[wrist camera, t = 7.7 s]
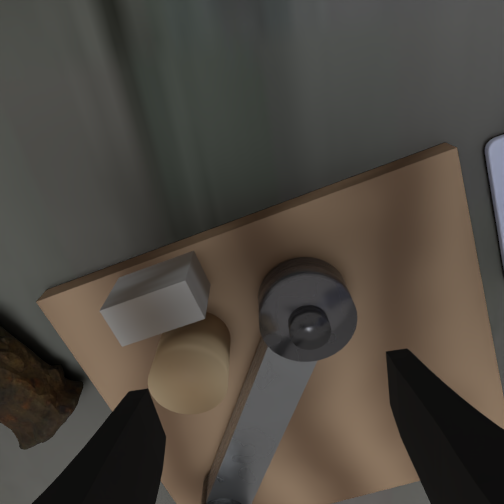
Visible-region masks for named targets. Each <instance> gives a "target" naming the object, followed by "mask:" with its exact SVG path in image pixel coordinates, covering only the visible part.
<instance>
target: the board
mask: <svg viewBox="0 0 504 504" xmlns="http://www.w3.org/2000/svg"><path fill="white" fill-rule="evenodd" d="M298 257H312V258H317V259H320V260H323V261H325V262H327V263H329V264H331V265H332V266H334V267H335V268H336V269H337V270H338V271H339V272H340V274H341V275H342V277H343V278H344V281H345V283H346V285H347V288H348V290H349V292H350V295H351V297H352V299H353V302H354V304H355V307H356V310H357V326H356V329H355V332H354V334H353V336H352V338H351V339H350V341H349V342H348V343H347V344H346V345H345V346H344V347H343V348H342V349H341V350H340V351H339V352H337V353H335V354H334V355H332V356H330V357H328V358H325V359H322V360H318V361H317V363H316V365H315V367H314V369H313V372H312V374H311V376H310V378H309V380H308V382H307V385H306V387H305V389H304V391H303V393H302V395H301V398H300V400H299V402H298V404H297V406H296V408H295V411H294V413H293V415H292V417H291V419H290V421H289V424H288V426H287V428H286V430H285V432H284V434H283V437H282V439H281V441H280V443H279V445H278V447H277V450H276V452H275V454H274V456H273V458H272V460H271V463H270V465H269V467H268V469H267V471H266V473H265V476H264V478H263V480H262V482H261V484H260V486H259V489H258V491H257V493H256V495H255V497H254V499H253V501H252V504H331V503H335V502H339V501H343V500H346V499H350V498H354V497H358V496H362V495H366V494H370V493H374V492H378V491H381V490H385V489H389V488H393V487H397V486H401V485H405V484H409V483H413V482H416V481H420V479H419V477H418V474H417V472H416V470H415V468H414V466H413V463H412V461H411V459H410V457H409V455H408V452H407V450H406V448H405V446H404V444H403V441H402V439H401V437H400V434H399V431H398V428H397V425H396V422H395V419H394V416H393V413H392V409H391V406H390V400H389V387H388V374H387V362H386V351H393V350H399V349H406V348H407V349H409V350H410V351H411V352H412V353H413V354H414V355H415V356H416V357H417V358H418V359H419V360H420V361H421V362H422V363H423V364H425V365H426V366H427V367H428V368H429V369H430V370H431V371H432V372H433V373H434V374H435V375H436V376H437V377H439V378H440V379H441V380H442V381H443V382H444V383H445V384H446V385H448V386H449V387H450V388H451V389H452V390H453V391H455V392H456V393H457V394H458V395H459V396H461V397H462V398H463V399H464V400H465V401H467V402H468V403H469V404H470V405H472V406H473V407H474V408H475V409H477V410H478V411H479V412H481V413H482V414H483V415H485V416H486V417H487V418H489V419H490V420H491V421H493V422H494V423H495V424H497V425H498V426H500V427H501V428H502V429H504V397H503V391H502V386H501V381H500V375H499V370H498V365H497V359H496V354H495V349H494V343H493V338H492V333H491V327H490V322H489V317H488V311H487V306H486V300H485V295H484V290H483V284H482V279H481V274H480V268H479V263H478V258H477V252H476V247H475V242H474V236H473V231H472V226H471V220H470V215H469V210H468V204H467V199H466V193H465V188H464V183H463V177H462V172H461V167H460V161H459V156H458V151H457V147H455V146H452V145H450V144H448V143H442V144H440V145H437V146H434V147H432V148H429V149H426V150H424V151H421V152H418V153H415V154H413V155H410V156H407V157H405V158H402V159H399V160H396V161H394V162H391V163H388V164H386V165H383V166H380V167H378V168H375V169H372V170H369V171H367V172H364V173H361V174H359V175H356V176H353V177H350V178H348V179H345V180H342V181H340V182H337V183H334V184H332V185H329V186H326V187H323V188H321V189H318V190H315V191H313V192H310V193H307V194H305V195H302V196H299V197H296V198H294V199H291V200H288V201H286V202H283V203H280V204H277V205H275V206H272V207H269V208H267V209H264V210H261V211H259V212H256V213H253V214H250V215H248V216H245V217H242V218H240V219H237V220H234V221H232V222H229V223H226V224H223V225H221V226H218V227H215V228H213V229H210V230H207V231H204V232H202V233H199V234H196V235H194V236H191V237H188V238H186V239H183V240H180V241H177V242H175V243H172V244H169V245H167V246H164V247H161V248H159V249H156V250H153V251H150V252H148V253H145V254H142V255H140V256H137V257H134V258H131V259H129V260H126V261H123V262H121V263H118V264H115V265H113V266H110V267H107V268H104V269H102V270H99V271H96V272H94V273H91V274H88V275H86V276H83V277H80V278H77V279H75V280H72V281H69V282H67V283H64V284H61V285H58V286H56V287H53V288H50V289H48V290H46V291H45V292H44V293H43V295H42V296H41V297H40V298H39V299H38V300H37V301H36V302H37V304H38V305H39V307H40V308H41V309H42V311H43V312H44V314H45V315H46V317H47V318H48V319H49V321H50V322H51V324H52V325H53V327H54V328H55V330H56V331H57V332H58V334H59V335H60V337H61V338H62V340H63V341H64V342H65V344H66V345H67V347H68V348H69V350H70V351H71V353H72V354H73V355H74V357H75V358H76V360H77V361H78V363H79V364H80V365H81V367H82V368H83V370H84V371H85V373H86V374H87V376H88V377H89V378H90V380H91V381H92V383H93V384H94V386H95V387H96V388H97V390H98V391H99V393H100V394H101V396H102V397H103V399H104V400H105V401H106V403H107V404H108V406H109V407H110V409H111V410H112V411H113V410H114V409H115V408H116V407H117V405H118V404H119V403H120V402H121V400H122V399H123V398H124V397H125V395H126V394H127V393H128V392H129V391H134V390H141V389H147V388H148V390H149V387H148V376H149V373H150V369H151V366H152V363H153V360H154V357H155V353H156V350H157V347H158V344H159V341H160V337H161V334H162V333H164V332H167V331H170V330H173V329H176V328H179V327H182V326H185V325H188V324H191V323H194V322H197V321H200V320H203V319H205V316H206V312H209V313H211V314H213V315H215V316H217V317H218V318H220V319H221V320H222V321H223V322H224V323H225V325H226V326H227V328H228V330H229V332H230V338H231V342H230V358H229V374H228V389H227V393H226V395H225V397H224V399H223V400H222V401H221V403H220V404H219V405H217V406H216V407H215V408H213V409H211V410H209V411H207V412H204V413H200V414H190V415H189V414H180V413H176V412H173V411H170V410H168V409H166V408H164V407H163V406H161V405H160V404H159V403H158V402H157V401H156V400H155V399H154V398H153V396H152V395H151V393H150V391H149V393H150V395H151V398H152V400H153V403H154V406H155V408H156V411H157V414H158V416H159V419H160V422H161V424H162V427H163V429H164V432H165V435H166V445H165V456H164V464H163V471H162V476H161V482H162V483H163V485H164V486H165V488H166V489H167V491H168V492H169V493H170V495H171V496H172V498H173V499H174V501H175V502H176V504H201V498H202V489H203V481H204V479H205V477H206V476H207V475H208V474H209V473H210V470H211V468H212V465H213V463H214V460H215V457H216V455H217V452H218V450H219V447H220V444H221V442H222V439H223V437H224V434H225V431H226V429H227V426H228V424H229V421H230V418H231V416H232V413H233V411H234V408H235V405H236V403H237V400H238V398H239V395H240V392H241V390H242V387H243V385H244V382H245V379H246V377H247V374H248V372H249V369H250V366H251V364H252V361H253V359H254V356H255V353H256V351H257V348H258V346H259V343H260V340H261V338H262V336H261V333H260V329H259V310H258V292H259V288H260V285H261V283H262V281H263V279H264V277H265V276H266V275H267V274H268V272H269V271H270V270H271V269H273V268H274V267H275V266H277V265H278V264H280V263H282V262H284V261H286V260H289V259H293V258H298Z"/></svg>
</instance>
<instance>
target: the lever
mask: <svg viewBox="0 0 504 504" xmlns="http://www.w3.org/2000/svg"><path fill="white" fill-rule="evenodd" d="M258 310H259V329H260V333H261V336H262V338H261V340H260V343H259V346H258V348H257V351H256V353H255V356H254V359H253V361H252V364H251V366H250V369H249V372H248V374H247V377H246V379H245V382H244V385H243V387H242V390H241V392H240V395H239V398H238V400H237V403H236V405H235V408H234V411H233V413H232V416H231V418H230V421H229V424H228V426H227V429H226V431H225V434H224V437H223V439H222V442H221V444H220V447H219V450H218V452H217V455H216V457H215V460H214V463H213V465H212V468H211V470H210V473H209V474H208V475H207V476H206V477H205V479H204V481H203V489H202V498H201V504H252V501H253V499H254V497H255V495H256V493H257V491H258V489H259V486H260V484H261V482H262V480H263V478H264V476H265V473H266V471H267V469H268V467H269V465H270V463H271V460H272V458H273V456H274V454H275V452H276V450H277V447H278V445H279V443H280V441H281V439H282V437H283V434H284V432H285V430H286V428H287V426H288V424H289V421H290V419H291V417H292V415H293V413H294V411H295V408H296V406H297V404H298V402H299V400H300V398H301V395H302V393H303V391H304V389H305V387H306V385H307V382H308V380H309V378H310V376H311V374H312V372H313V369H314V367H315V365H316V363H317V361H318V360H322V359H325V358H328V357H330V356H332V355H334V354H335V353H337V352H339V351H340V350H341V349H342V348H343V347H344V346H345V345H346V344H347V343H348V342H349V341H350V339H351V338H352V336H353V334H354V332H355V329H356V326H357V310H356V307H355V304H354V302H353V299H352V297H351V295H350V292H349V290H348V288H347V285H346V283H345V281H344V278H343V277H342V275H341V274H340V272H339V271H338V270H337V269H336V268H335V267H334V266H332V265H331V264H329V263H327V262H325V261H323V260H320V259H317V258H312V257H298V258H293V259H289V260H286V261H284V262H282V263H280V264H278V265H277V266H275V267H274V268H273V269H271V270H270V271H269V272H268V274H267V275H266V276H265V277H264V279H263V281H262V283H261V285H260V288H259V292H258Z"/></svg>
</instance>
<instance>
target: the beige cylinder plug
mask: <svg viewBox="0 0 504 504" xmlns="http://www.w3.org/2000/svg"><path fill="white" fill-rule="evenodd" d="M230 342H231V338H230V332H229V330H228V328H227V326H226V325H225V323H224V322H223V321H222V320H221V319H220V318H218V317H217V316H215V315H213V314H211V313H209V312H206V316H205V319H203V320H200V321H197V322H194V323H191V324H188V325H185V326H182V327H179V328H176V329H173V330H170V331H167V332H164V333H162V334H161V337H160V341H159V344H158V347H157V350H156V353H155V357H154V360H153V363H152V366H151V369H150V373H149V376H148V387H149V391H150V393H151V395H152V396H153V398H154V399H155V400H156V401H157V402H158V403H159V404H160V405H161V406H163V407H164V408H166V409H168V410H170V411H173V412H176V413H180V414H189V415H190V414H200V413H204V412H207V411H209V410H211V409H213V408H215V407H216V406H217V405H219V404H220V403H221V401H222V400H223V399H224V397H225V395H226V393H227V389H228V374H229V358H230Z"/></svg>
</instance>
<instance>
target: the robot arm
mask: <svg viewBox="0 0 504 504" xmlns="http://www.w3.org/2000/svg"><path fill="white" fill-rule="evenodd" d="M485 157H486V163H487V170H488V176H489V182H490V188H491V194H492V201H493V207H494V213H495V219H496V226H497V232H498V238H499V244H500V250H501V257H502V263H503V269H504V134H503V135H500V136H497V137H494V138H493V139H491V140H490V141H489V142H488V143H487V144H486V147H485ZM386 362H387V374H388V387H389V400H390V406H391V409H392V413H393V416H394V419H395V422H396V425H397V428H398V431H399V434H400V437H401V439H402V441H403V444H404V446H405V448H406V450H407V452H408V455H409V457H410V459H411V461H412V463H413V466H414V468H415V470H416V472H417V474H418V477H419V479H420V481H421V483H422V485H423V487H424V490H425V492H426V494H427V496H428V498H429V500H430V503H431V504H504V429H502V428H501V427H500V426H498V425H497V424H495V423H494V422H493V421H491V420H490V419H489V418H487V417H486V416H485V415H483V414H482V413H481V412H479V411H478V410H477V409H475V408H474V407H473V406H472V405H470V404H469V403H468V402H467V401H465V400H464V399H463V398H462V397H461V396H459V395H458V394H457V393H456V392H455V391H453V390H452V389H451V388H450V387H449V386H448V385H446V384H445V383H444V382H443V381H442V380H441V379H440V378H439V377H437V376H436V375H435V374H434V373H433V372H432V371H431V370H430V369H429V368H428V367H427V366H426V365H425V364H423V363H422V362H421V361H420V360H419V359H418V358H417V357H416V356H415V355H414V354H413V353H412V352H411V351H410V350H409V349H407V348H406V349H399V350H393V351H386ZM165 445H166V435H165V432H164V429H163V427H162V424H161V422H160V419H159V416H158V414H157V411H156V408H155V406H154V403H153V400H152V398H151V395H150V393H149V390H148V388H147V389H141V390H134V391H129V392H128V393H127V394H126V395H125V397H124V398H123V399H122V400H121V402H120V403H119V404H118V405H117V407H116V408H115V409H114V410H113V412H112V413H111V414H110V416H109V417H108V418H107V419H106V421H105V422H104V423H103V424H102V426H101V427H100V428H99V429H98V431H97V432H96V433H95V434H94V436H93V437H92V438H91V439H90V440H89V442H88V443H87V444H86V445H85V447H84V448H83V449H82V450H81V451H80V452H79V454H78V455H77V456H76V457H75V458H74V459H73V460H72V462H71V463H70V464H69V465H68V466H67V467H66V468H65V469H64V471H63V472H62V473H61V474H60V475H59V476H58V477H57V478H56V480H55V481H54V482H53V483H52V484H51V485H50V486H49V487H48V488H47V489H46V490H45V491H44V492H43V493H42V494H41V495H40V496H39V497H38V498H37V499H36V500H35V501H34V502H33V503H32V504H155V502H156V498H157V494H158V489H159V485H160V481H161V476H162V471H163V464H164V456H165Z"/></svg>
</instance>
